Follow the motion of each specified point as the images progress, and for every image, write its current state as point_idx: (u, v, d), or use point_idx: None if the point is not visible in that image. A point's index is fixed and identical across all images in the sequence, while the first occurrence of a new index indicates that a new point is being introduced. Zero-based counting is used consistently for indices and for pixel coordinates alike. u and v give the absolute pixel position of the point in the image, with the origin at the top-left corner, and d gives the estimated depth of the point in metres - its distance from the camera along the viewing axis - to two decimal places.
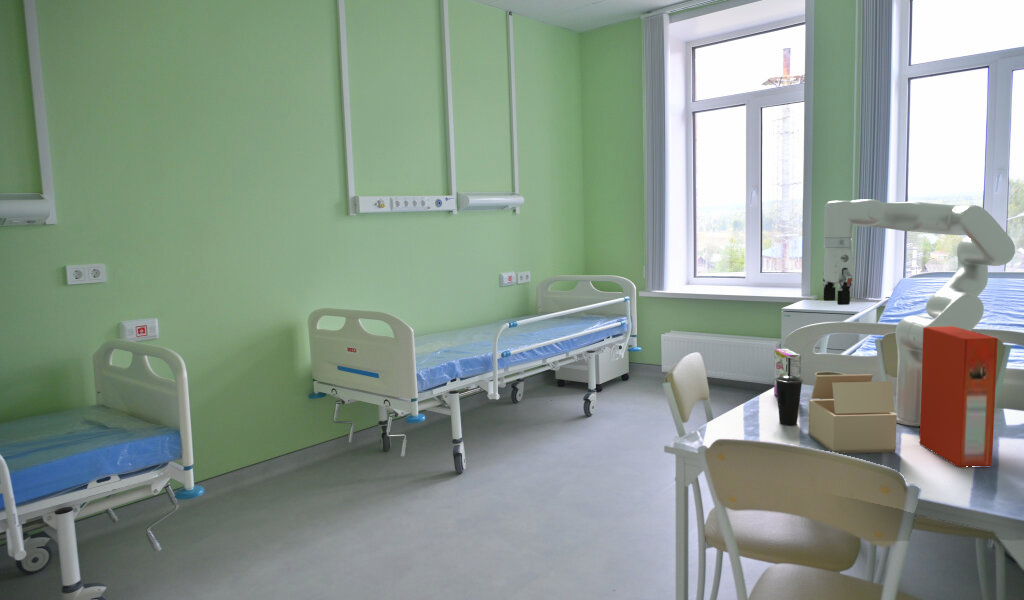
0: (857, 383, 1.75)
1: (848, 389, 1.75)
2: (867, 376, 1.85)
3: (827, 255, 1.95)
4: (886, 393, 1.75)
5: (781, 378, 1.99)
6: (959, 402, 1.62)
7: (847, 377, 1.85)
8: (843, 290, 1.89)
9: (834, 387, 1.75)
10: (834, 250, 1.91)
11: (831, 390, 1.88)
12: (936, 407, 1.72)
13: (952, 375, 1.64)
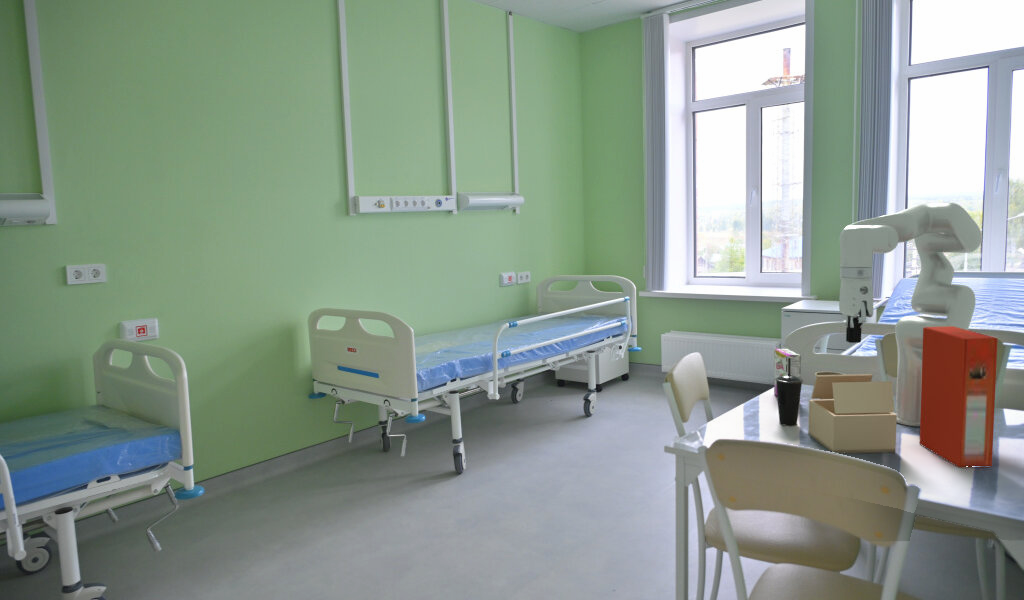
0: (857, 383, 1.75)
1: (848, 389, 1.75)
2: (867, 376, 1.85)
3: (844, 286, 1.78)
4: (886, 393, 1.75)
5: (781, 378, 1.99)
6: (959, 402, 1.62)
7: (847, 377, 1.85)
8: None
9: (834, 387, 1.75)
10: (852, 281, 1.74)
11: (831, 390, 1.88)
12: (936, 407, 1.72)
13: (952, 375, 1.64)
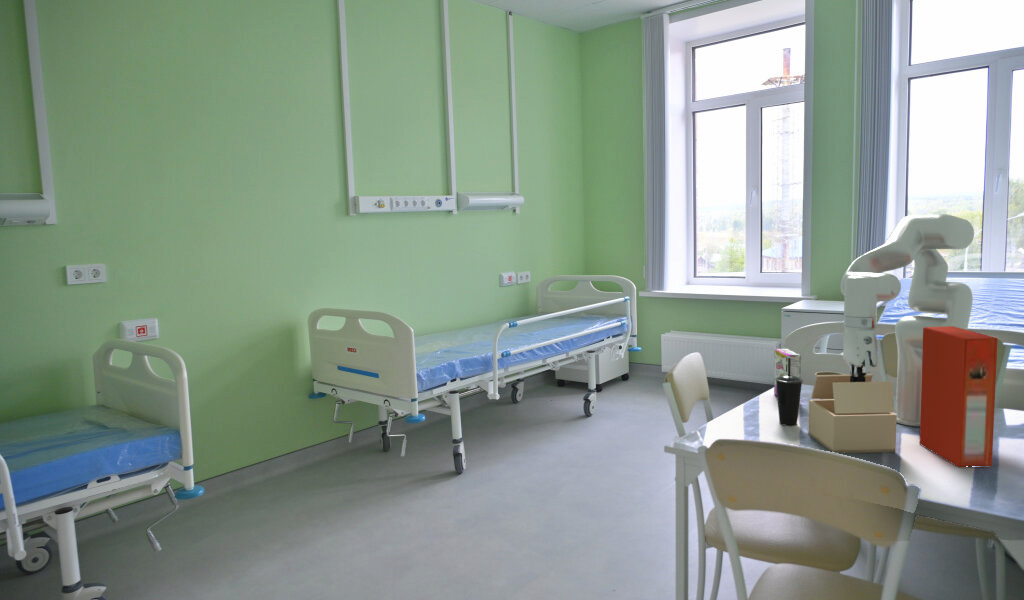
0: (857, 383, 1.75)
1: (848, 389, 1.75)
2: (867, 376, 1.85)
3: (847, 334, 1.77)
4: (887, 393, 1.74)
5: (781, 378, 1.99)
6: (959, 402, 1.62)
7: (847, 377, 1.85)
8: None
9: (835, 387, 1.75)
10: (856, 330, 1.73)
11: (831, 390, 1.88)
12: (936, 407, 1.72)
13: (952, 375, 1.64)
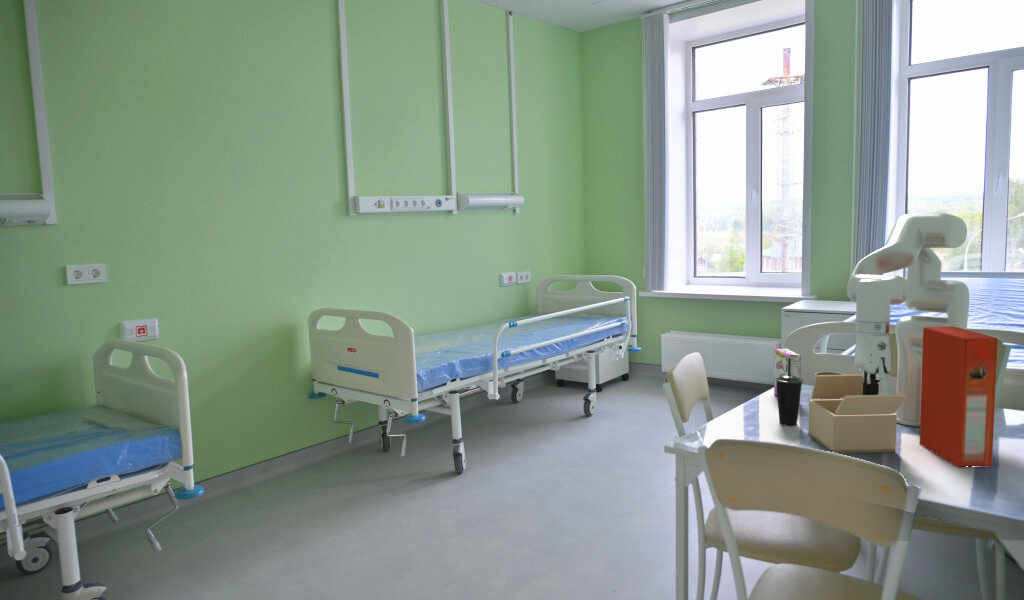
0: (870, 397, 1.69)
1: (858, 401, 1.70)
2: None
3: (860, 340, 1.71)
4: (895, 403, 1.70)
5: (781, 378, 1.99)
6: (959, 402, 1.62)
7: (847, 377, 1.85)
8: (870, 384, 1.70)
9: (845, 400, 1.69)
10: (869, 336, 1.66)
11: (831, 390, 1.88)
12: (936, 407, 1.72)
13: (952, 375, 1.64)
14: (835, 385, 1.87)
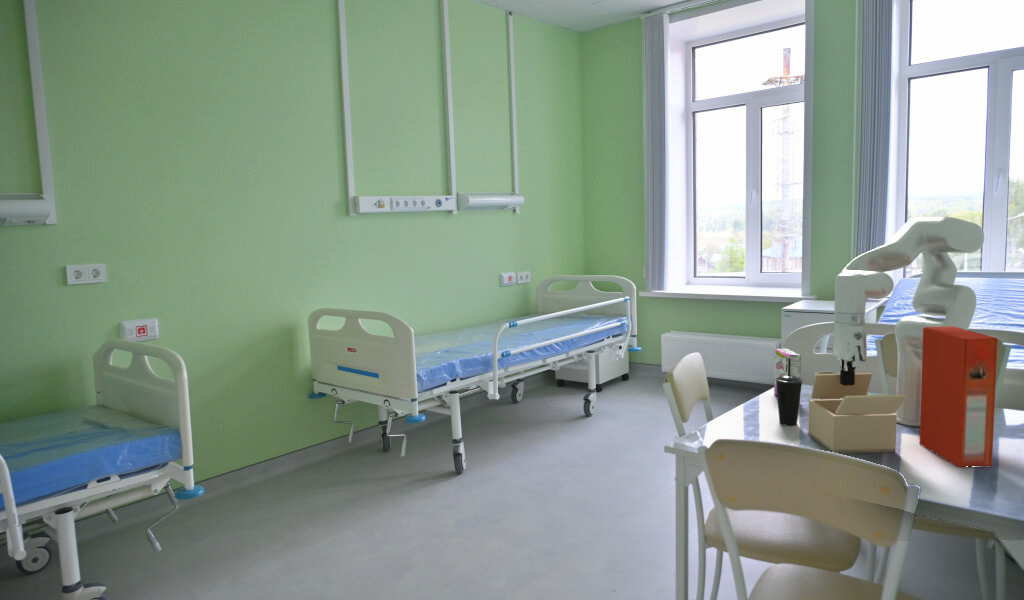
0: (870, 398, 1.68)
1: (858, 401, 1.70)
2: (866, 375, 1.85)
3: (838, 330, 1.83)
4: (896, 403, 1.70)
5: (781, 378, 1.99)
6: (959, 402, 1.62)
7: None
8: None
9: (845, 400, 1.69)
10: (846, 326, 1.79)
11: (831, 390, 1.88)
12: (936, 407, 1.72)
13: (952, 375, 1.64)
14: (835, 384, 1.87)
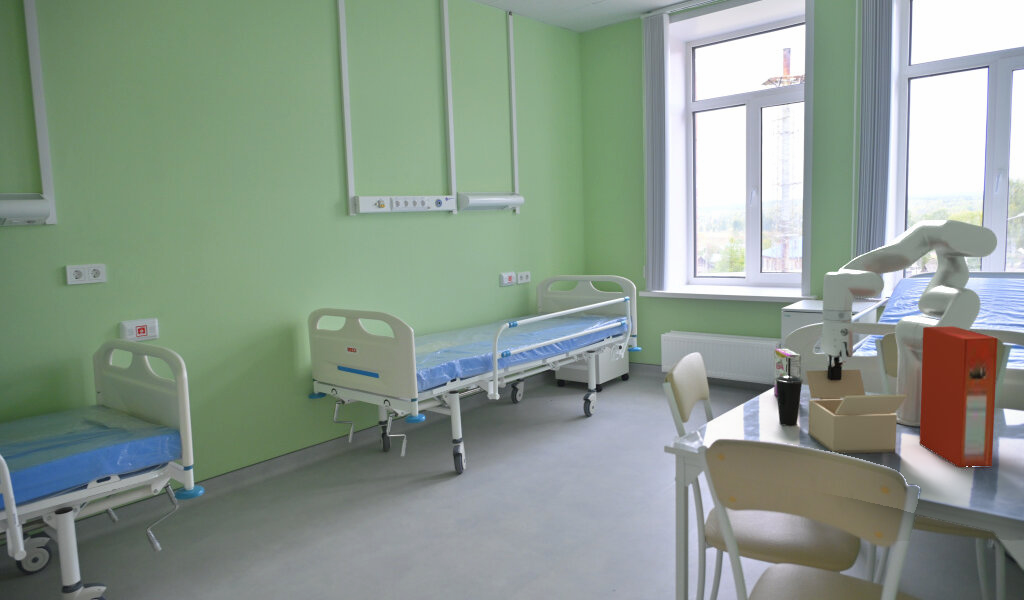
0: (870, 398, 1.68)
1: (858, 401, 1.70)
2: (855, 371, 1.92)
3: (826, 327, 1.90)
4: (896, 403, 1.70)
5: (781, 378, 1.99)
6: (959, 402, 1.62)
7: None
8: None
9: (845, 400, 1.69)
10: (833, 323, 1.86)
11: (827, 387, 1.90)
12: (936, 407, 1.72)
13: (952, 375, 1.64)
14: (828, 381, 1.91)
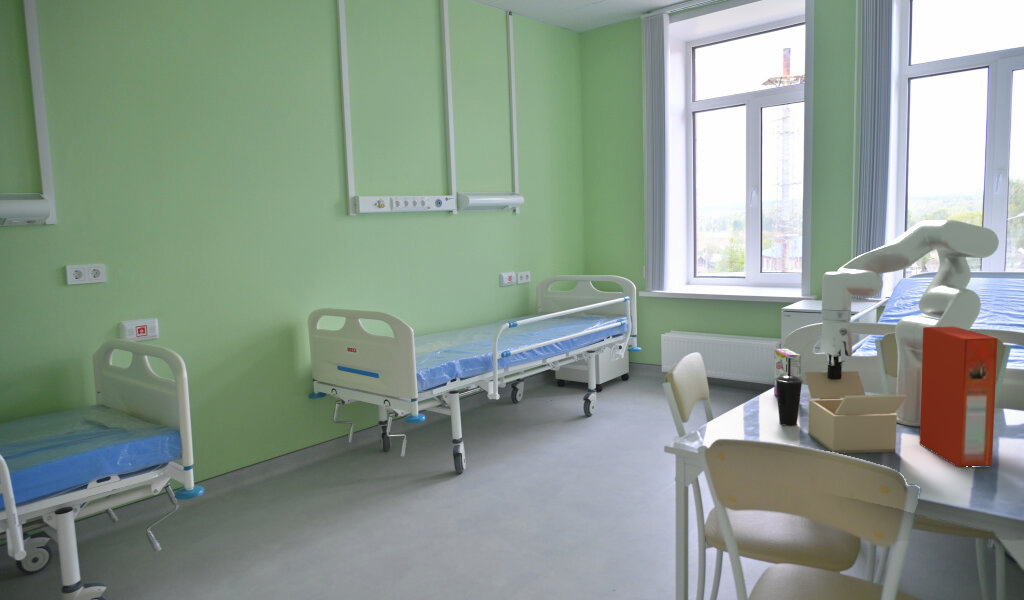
0: (870, 398, 1.68)
1: (858, 401, 1.70)
2: (853, 372, 1.93)
3: (825, 326, 1.91)
4: (896, 403, 1.70)
5: (781, 378, 1.99)
6: (959, 402, 1.62)
7: None
8: (834, 366, 1.90)
9: (845, 400, 1.69)
10: (832, 323, 1.87)
11: (826, 388, 1.91)
12: (936, 407, 1.72)
13: (952, 375, 1.64)
14: (827, 382, 1.92)
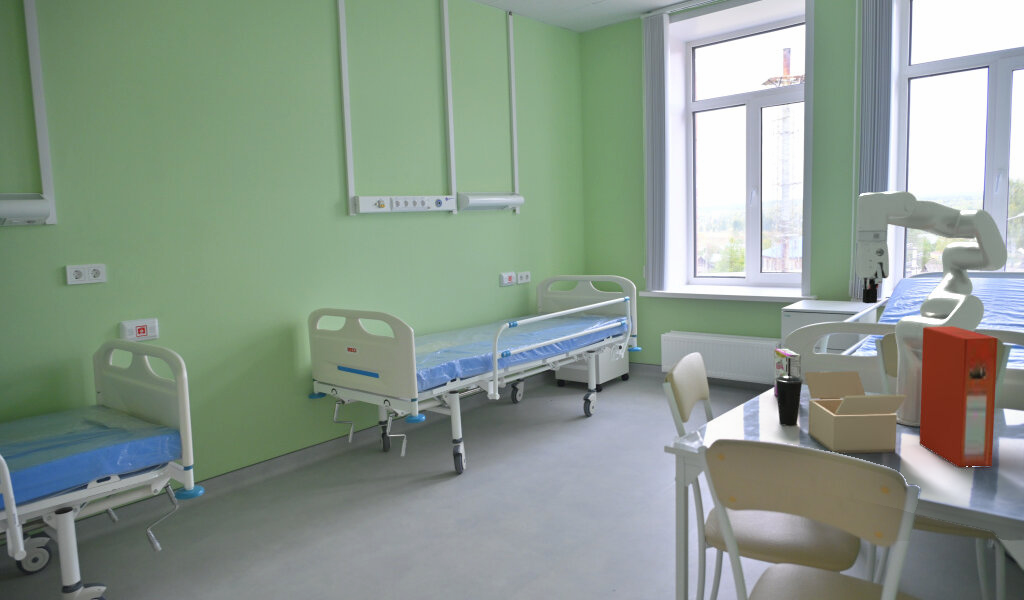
0: (870, 398, 1.68)
1: (858, 401, 1.70)
2: (853, 372, 1.93)
3: (860, 249, 1.88)
4: (896, 403, 1.70)
5: (781, 378, 1.99)
6: (959, 402, 1.62)
7: (834, 373, 1.93)
8: (870, 289, 1.87)
9: (845, 400, 1.69)
10: (868, 244, 1.83)
11: (826, 388, 1.91)
12: (936, 407, 1.72)
13: (952, 375, 1.64)
14: (827, 382, 1.92)
